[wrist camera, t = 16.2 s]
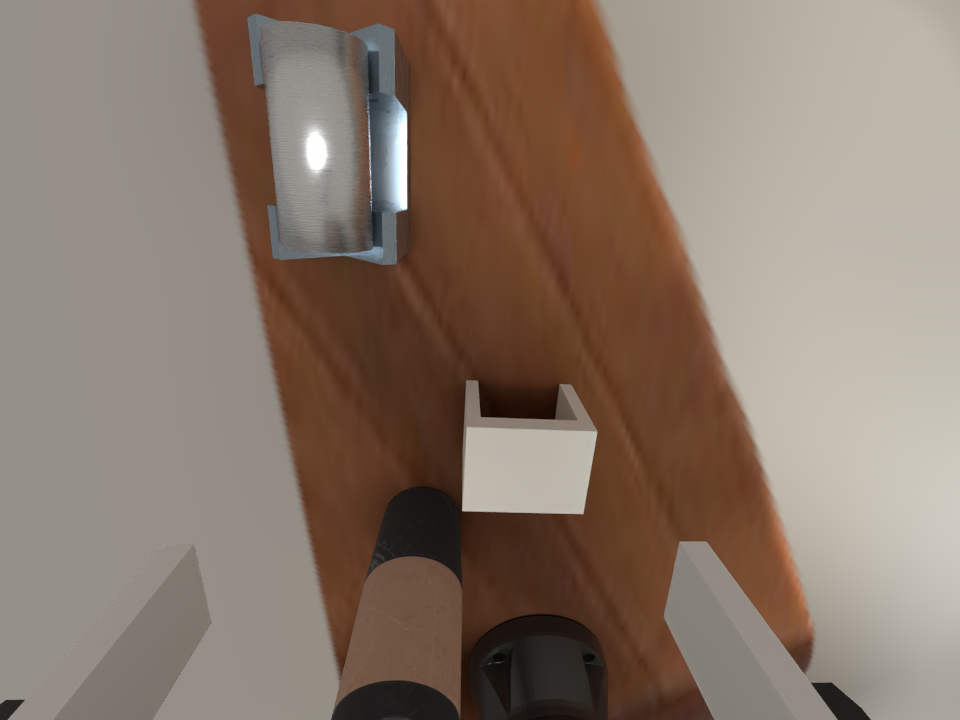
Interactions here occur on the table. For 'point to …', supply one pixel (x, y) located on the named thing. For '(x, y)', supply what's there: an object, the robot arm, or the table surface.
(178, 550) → the robot arm
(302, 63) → the axle
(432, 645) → the travel mug
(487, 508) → the u shaped block
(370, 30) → the v block
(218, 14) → the table surface
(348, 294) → the table surface
